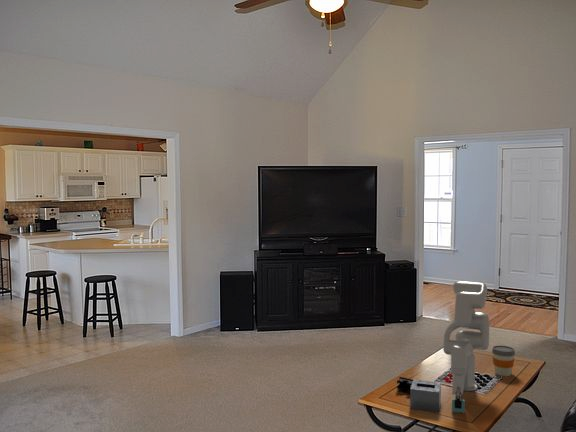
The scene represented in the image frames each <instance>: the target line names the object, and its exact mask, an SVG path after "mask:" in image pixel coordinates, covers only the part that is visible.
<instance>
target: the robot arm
mask: <svg viewBox="0 0 576 432" xmlns="http://www.w3.org/2000/svg"><path fill="white" fill-rule="evenodd" d="M452 286H453V287H452V288H453V292H454V295H455V301H454V302H455V304H454V306H455V307H454V316H453V317H454V319H453V320H452V322H451V323H450V324H449V325H447V328H446V329H445V331H444V334H443V342H442V343H443V344H442V350H443V352H444V354H446V355H448V356H450V358H451V359H450V373H451V374H452V389H451V390H452V396H453V395H454V396H455V397H454V398H455V408H459V409H461V408H462V400H461V399H463V395H464V394H463V393H464V391H465V392H472V391H473V392H474V391H476V390H478V385H477V384H476V383H475V380H476V378H475V377H476V375H475V374H476V370H475V369H476V357H475V354H474V350H479V351H487V350H488V349H489V347H490V318H489V315H488V314H487V313H486V312H480V311H476V309H477V310H483V309H484V308H485V306H486V301H487V294H488V287H487V285H486V284H485V283H483V282H478V281H477V282H475V281H464V280H461V281H455V282H454V283H453V284H452ZM460 328H462V329H463V330H458V331H457V332H455V333H456V334H455V338H454V339H455V340H454V339H450V337H451V334H452V333H453V332H454V331H455V330H457V329H460ZM464 329H468V330H464ZM473 330H474V331H473ZM475 330H478V331H475Z"/></svg>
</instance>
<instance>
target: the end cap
mask: <svg viewBox="0 0 576 432" xmlns="http://www.w3.org/2000/svg"><path fill="white" fill-rule="evenodd" d="M412 382H413V378H409V377H404V376H399V379H397V381H396V384H398V385H396V389H397V390H396V391H397V392H399V393H403V394H409V395H410V389H411V385H412Z"/></svg>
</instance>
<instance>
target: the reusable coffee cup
mask: <svg viewBox="0 0 576 432" xmlns="http://www.w3.org/2000/svg"><path fill="white" fill-rule="evenodd" d="M491 352H492V362H493V366H494V373H495V375H499V376H502V377H509V376H511V375H512V371H513V368H514V363H515V356H516V353H515V352H516V351H515V348H513V347H511V346H507V345H494V346H492V350H491Z"/></svg>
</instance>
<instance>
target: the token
mask: <svg viewBox="0 0 576 432" xmlns="http://www.w3.org/2000/svg"><path fill="white" fill-rule="evenodd" d="M461 400H462V408H461V409H459V408H455V397H454V398H451V412H453V413H460V412H462V414H465V412H466V410H465V409H466V407H465V406H466V399H463V398H462V399H461Z"/></svg>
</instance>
